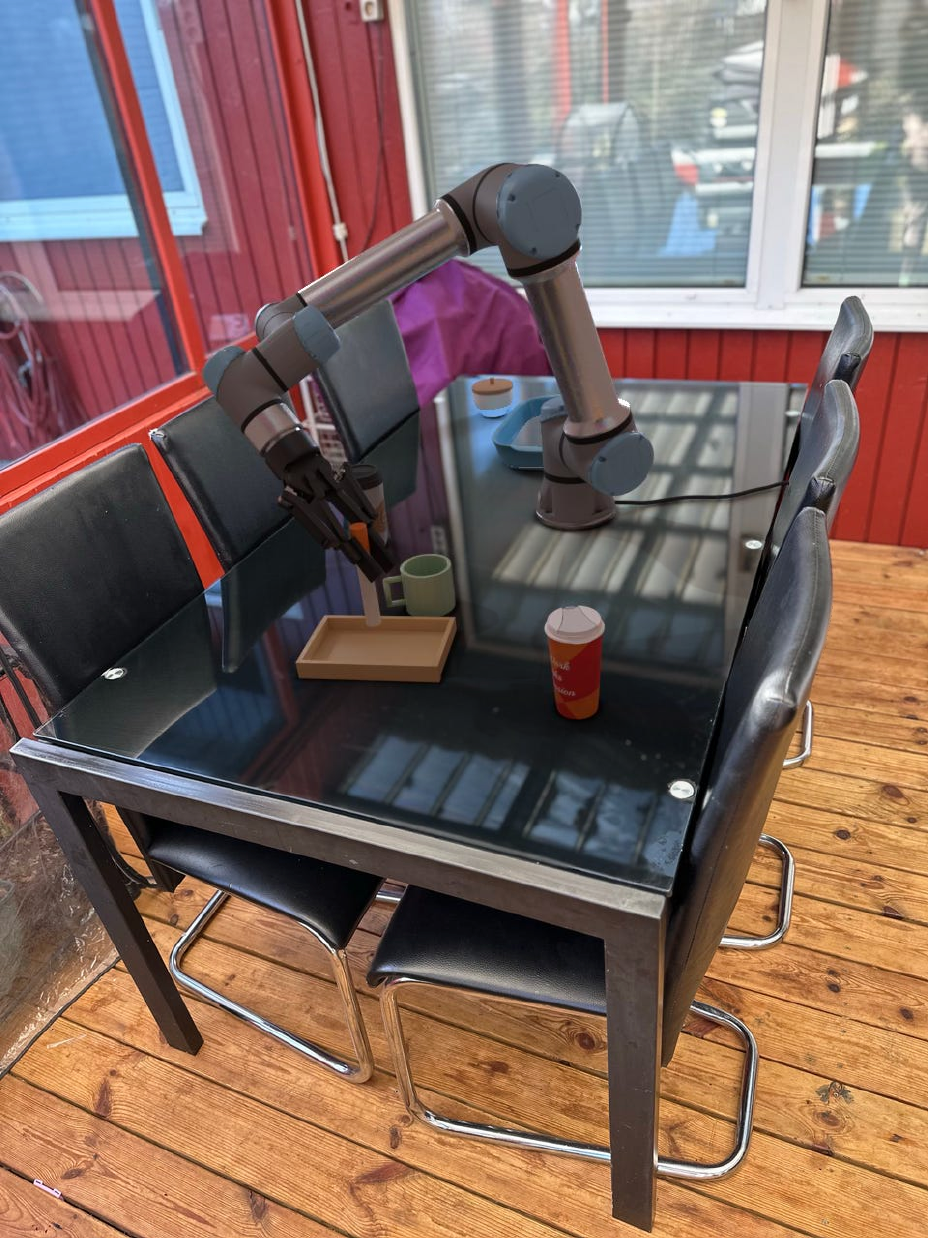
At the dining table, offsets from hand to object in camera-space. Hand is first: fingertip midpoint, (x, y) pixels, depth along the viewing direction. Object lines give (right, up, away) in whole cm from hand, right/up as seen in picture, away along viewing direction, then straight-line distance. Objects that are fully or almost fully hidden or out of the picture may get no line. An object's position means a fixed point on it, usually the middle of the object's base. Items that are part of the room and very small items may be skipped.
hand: (384, 573), depth 126 cm
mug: (+4, -5, +21) cm, 22 cm away
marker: (-2, -7, +7) cm, 10 cm away
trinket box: (+19, +46, +104) cm, 115 cm away
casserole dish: (+32, +33, +79) cm, 91 cm away
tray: (-2, -12, +10) cm, 16 cm away
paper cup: (+27, -19, -6) cm, 33 cm away
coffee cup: (-6, +8, +44) cm, 45 cm away
